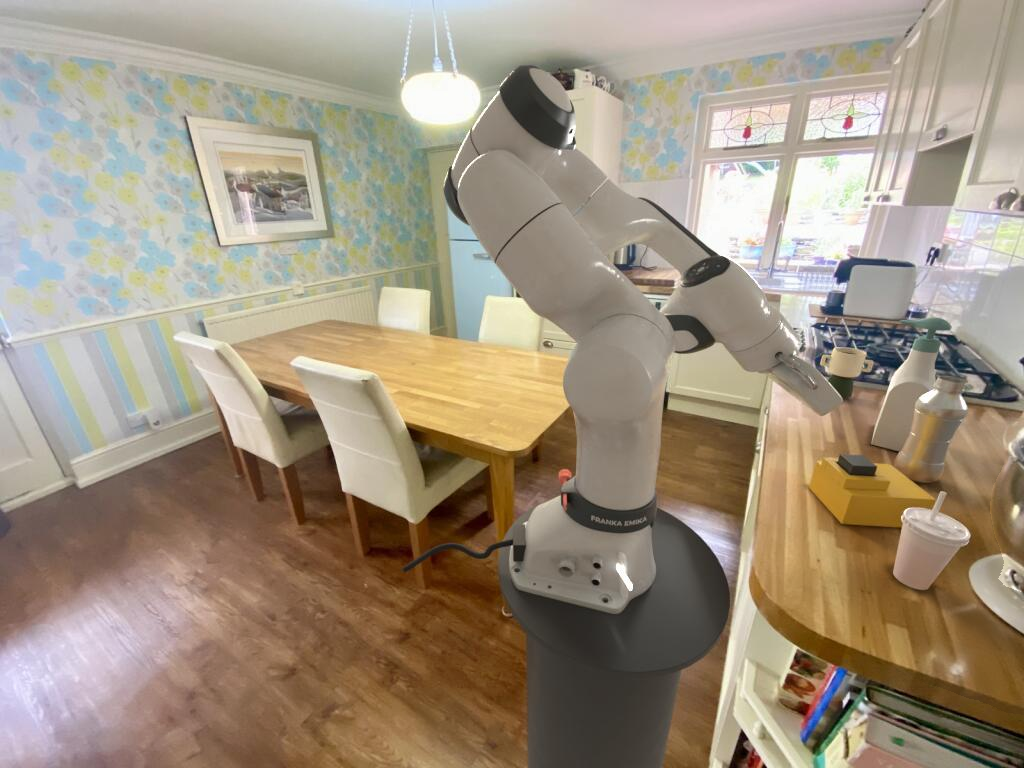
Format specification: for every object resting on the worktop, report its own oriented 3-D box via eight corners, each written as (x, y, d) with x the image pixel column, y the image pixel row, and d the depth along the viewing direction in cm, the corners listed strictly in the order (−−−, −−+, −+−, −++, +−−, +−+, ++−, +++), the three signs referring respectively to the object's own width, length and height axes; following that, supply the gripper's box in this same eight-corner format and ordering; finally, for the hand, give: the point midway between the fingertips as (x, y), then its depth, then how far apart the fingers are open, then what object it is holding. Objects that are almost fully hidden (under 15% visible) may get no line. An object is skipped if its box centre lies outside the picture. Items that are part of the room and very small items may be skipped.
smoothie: (904, 557, 61) (939, 477, 56) (956, 593, 55) (1000, 507, 50) (868, 565, 60) (901, 484, 54) (917, 603, 54) (959, 515, 49)
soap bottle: (865, 424, 98) (903, 309, 88) (911, 435, 93) (958, 314, 83) (860, 442, 91) (901, 319, 81) (910, 455, 86) (961, 325, 76)
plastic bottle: (942, 491, 75) (987, 389, 67) (893, 480, 78) (931, 381, 71) (932, 473, 80) (974, 376, 72) (887, 464, 83) (922, 370, 76)
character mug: (860, 395, 114) (874, 350, 109) (862, 405, 108) (878, 357, 103) (812, 388, 119) (824, 344, 114) (812, 396, 114) (824, 351, 109)
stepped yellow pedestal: (839, 524, 68) (853, 485, 65) (807, 487, 77) (817, 451, 74) (923, 529, 66) (940, 489, 63) (879, 490, 75) (893, 455, 73)
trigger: (849, 476, 68) (853, 465, 67) (836, 464, 71) (839, 453, 70) (873, 477, 67) (877, 466, 67) (859, 465, 71) (862, 454, 70)
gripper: (823, 352, 53) (878, 422, 56) (752, 315, 72) (796, 369, 75) (778, 382, 56) (834, 449, 59) (720, 339, 74) (765, 391, 77)
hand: (812, 403), depth 67 cm, fingers closed
